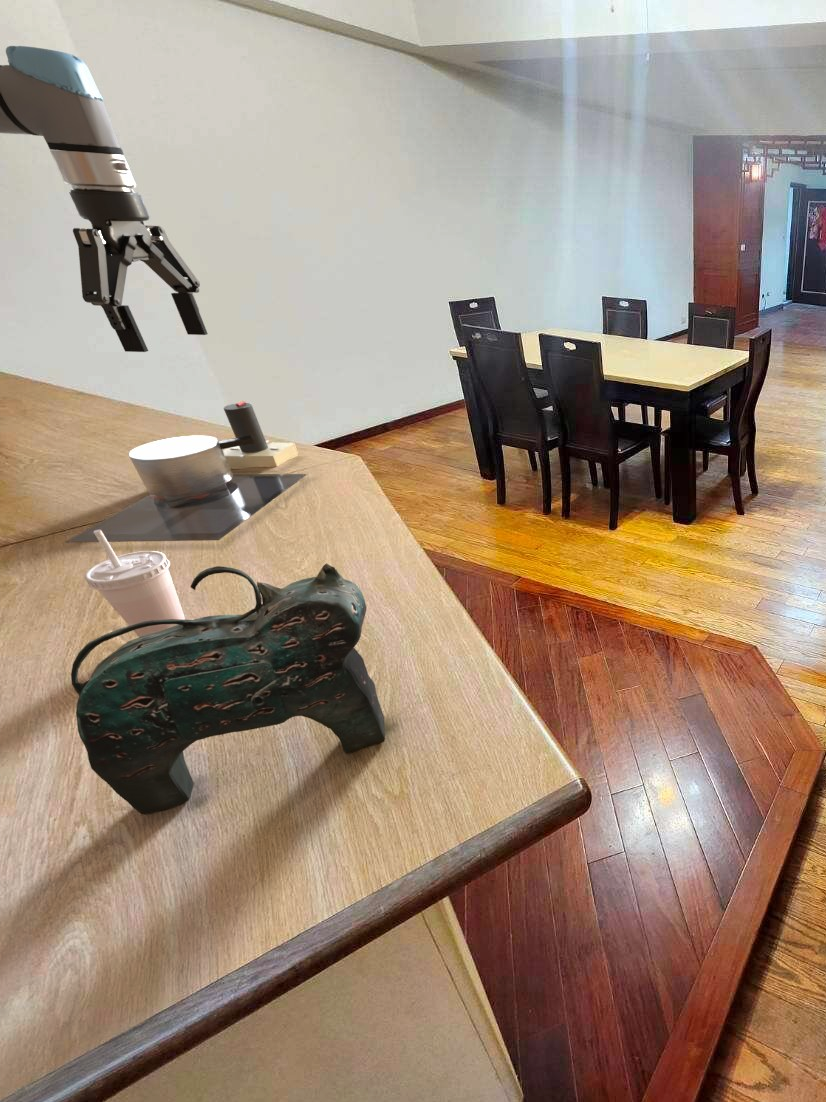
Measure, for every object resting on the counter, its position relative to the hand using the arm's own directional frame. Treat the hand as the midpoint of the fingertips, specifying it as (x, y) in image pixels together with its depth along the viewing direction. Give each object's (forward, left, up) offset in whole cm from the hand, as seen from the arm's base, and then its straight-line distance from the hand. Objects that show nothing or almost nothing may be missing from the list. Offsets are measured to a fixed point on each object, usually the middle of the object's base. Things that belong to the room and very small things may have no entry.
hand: (169, 342), depth 95 cm
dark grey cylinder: (+4, +3, -19) cm, 20 cm away
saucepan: (+3, -8, -21) cm, 23 cm away
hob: (+6, -16, -22) cm, 28 cm away
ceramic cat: (+46, -69, -22) cm, 86 cm away
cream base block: (+4, +3, -22) cm, 22 cm away
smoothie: (+24, -50, -22) cm, 60 cm away
